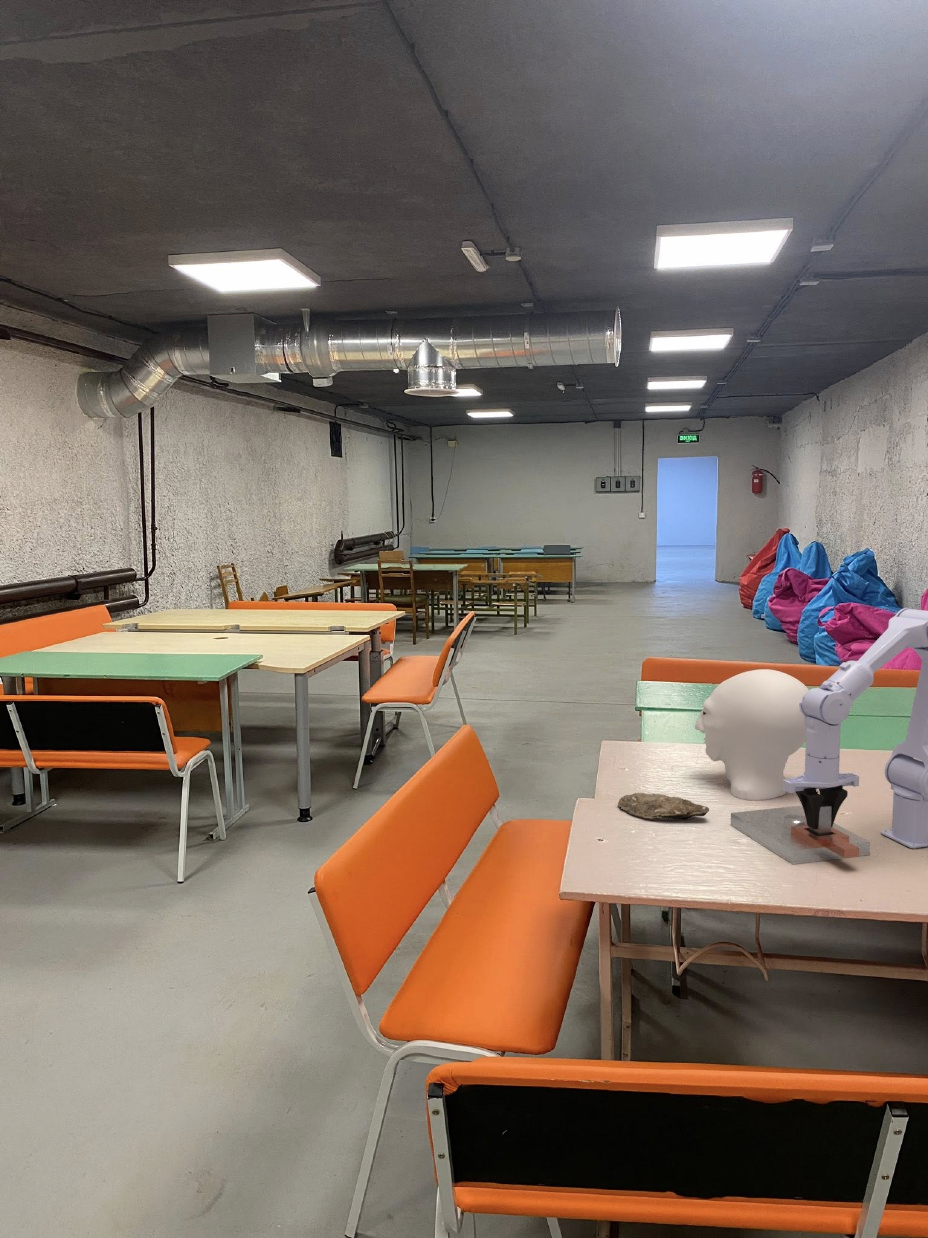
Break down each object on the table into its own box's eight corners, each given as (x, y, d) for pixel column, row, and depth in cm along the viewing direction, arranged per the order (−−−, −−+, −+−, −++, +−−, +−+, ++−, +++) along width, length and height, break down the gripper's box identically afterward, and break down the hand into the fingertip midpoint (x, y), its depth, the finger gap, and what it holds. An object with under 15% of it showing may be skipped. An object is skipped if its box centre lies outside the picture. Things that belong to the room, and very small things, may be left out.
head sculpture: (802, 811, 169) (806, 680, 166) (679, 787, 186) (681, 668, 183) (823, 789, 183) (827, 668, 180) (707, 769, 199) (709, 658, 196)
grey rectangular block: (820, 848, 149) (822, 801, 148) (830, 853, 147) (831, 806, 146) (808, 849, 149) (810, 802, 148) (817, 855, 146) (819, 807, 145)
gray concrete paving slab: (799, 817, 166) (800, 798, 165) (890, 866, 141) (891, 844, 141) (730, 825, 162) (731, 805, 161) (811, 876, 138) (811, 853, 137)
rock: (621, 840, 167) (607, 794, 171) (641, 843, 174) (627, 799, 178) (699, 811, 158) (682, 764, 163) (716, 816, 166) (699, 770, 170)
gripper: (841, 745, 151) (839, 815, 153) (773, 751, 148) (771, 822, 149) (868, 755, 144) (865, 828, 146) (798, 762, 141) (795, 836, 143)
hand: (819, 826), depth 147 cm, fingers closed on grey rectangular block, 2 cm apart
